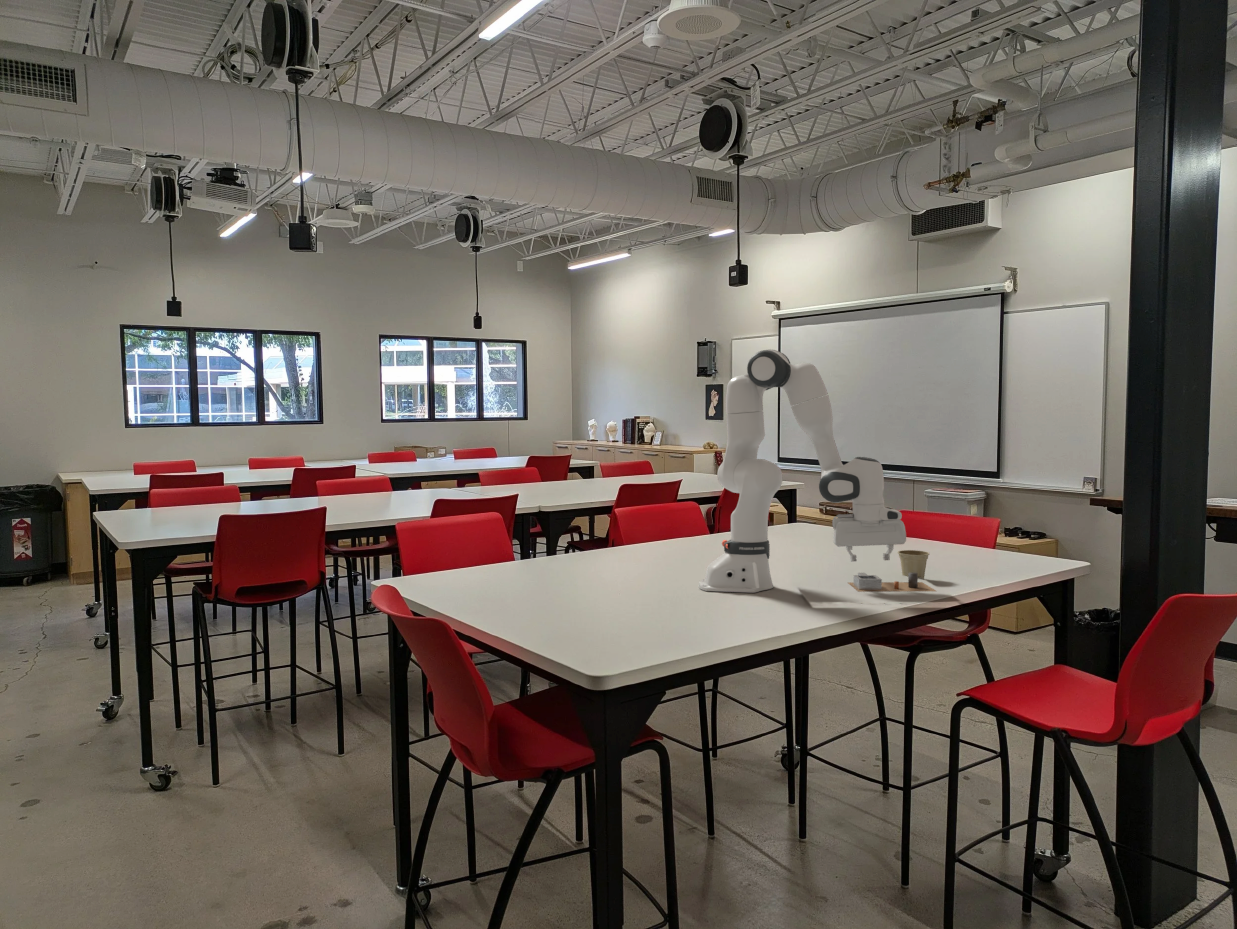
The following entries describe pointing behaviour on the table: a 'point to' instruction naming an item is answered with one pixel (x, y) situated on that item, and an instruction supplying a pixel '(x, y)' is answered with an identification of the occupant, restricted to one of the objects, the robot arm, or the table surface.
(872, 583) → the grey square frame
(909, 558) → the flower pot
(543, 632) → the table surface
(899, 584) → the board
